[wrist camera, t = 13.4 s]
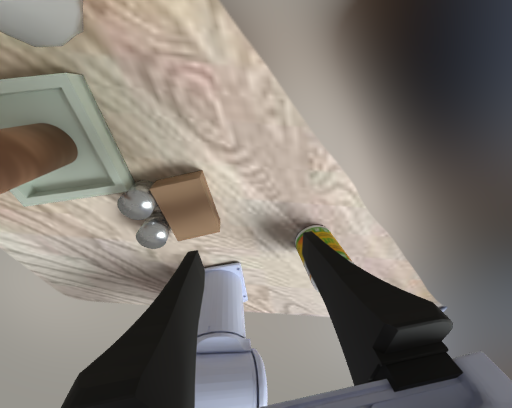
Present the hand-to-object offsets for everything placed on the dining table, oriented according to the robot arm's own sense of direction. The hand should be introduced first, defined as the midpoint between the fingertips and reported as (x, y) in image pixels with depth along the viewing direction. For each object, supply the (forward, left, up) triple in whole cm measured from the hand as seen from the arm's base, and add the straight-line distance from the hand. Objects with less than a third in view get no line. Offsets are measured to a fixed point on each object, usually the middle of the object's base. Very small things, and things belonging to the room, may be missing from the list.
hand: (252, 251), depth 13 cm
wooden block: (-1, +6, -11) cm, 12 cm away
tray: (+7, +16, -10) cm, 20 cm away
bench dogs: (-1, +11, -10) cm, 15 cm away
